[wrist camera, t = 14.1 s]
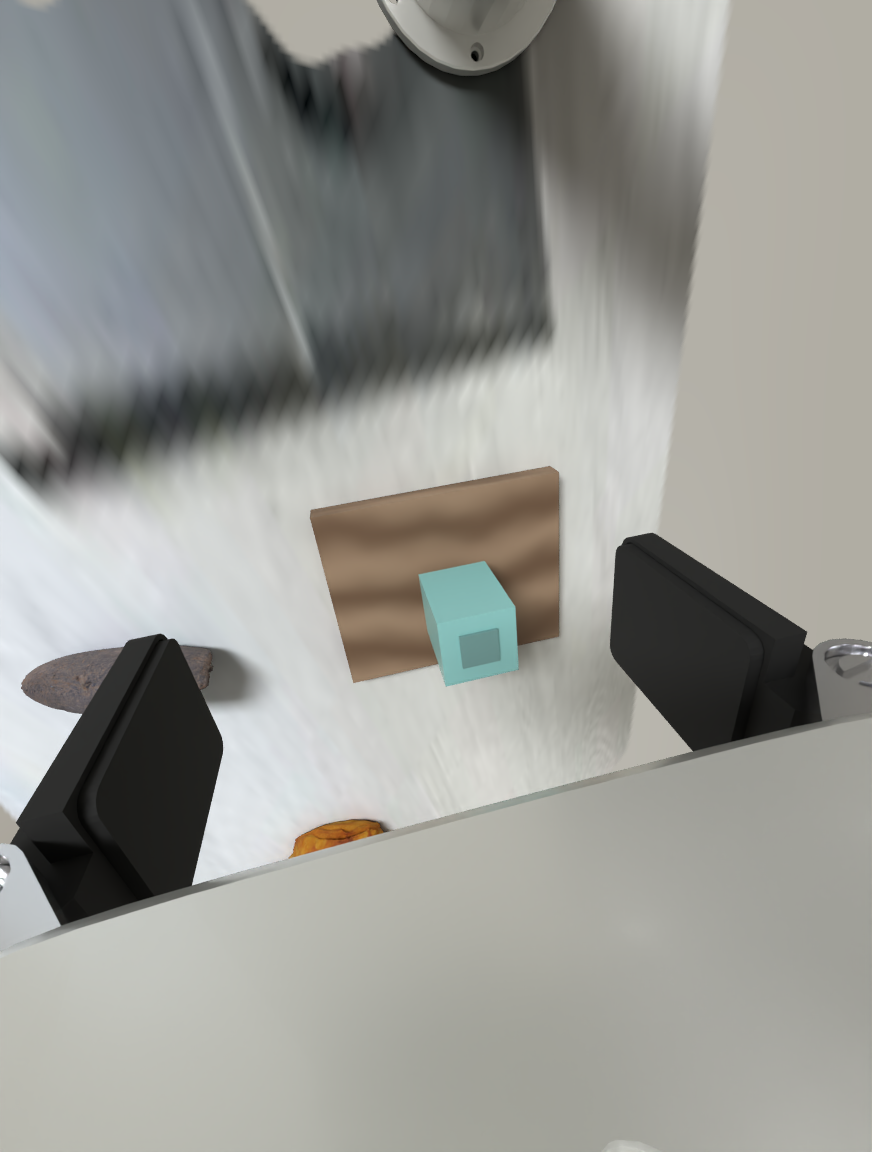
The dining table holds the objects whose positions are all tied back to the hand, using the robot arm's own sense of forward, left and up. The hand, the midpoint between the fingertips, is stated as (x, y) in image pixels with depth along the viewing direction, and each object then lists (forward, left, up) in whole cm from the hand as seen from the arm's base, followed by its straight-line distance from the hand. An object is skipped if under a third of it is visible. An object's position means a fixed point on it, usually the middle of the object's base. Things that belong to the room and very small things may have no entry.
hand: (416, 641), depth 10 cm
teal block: (+17, +6, -29) cm, 34 cm away
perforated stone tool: (+19, -24, -34) cm, 45 cm away
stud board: (+17, +6, -33) cm, 38 cm away
